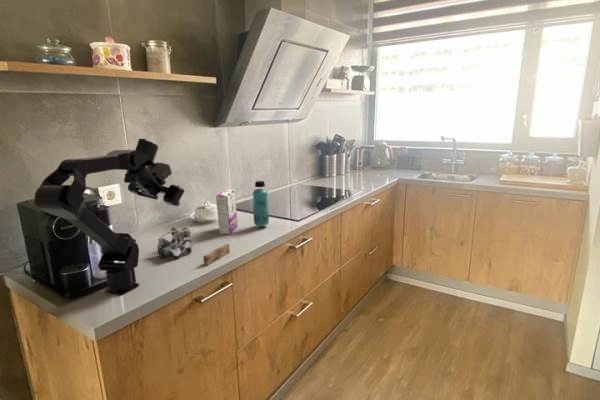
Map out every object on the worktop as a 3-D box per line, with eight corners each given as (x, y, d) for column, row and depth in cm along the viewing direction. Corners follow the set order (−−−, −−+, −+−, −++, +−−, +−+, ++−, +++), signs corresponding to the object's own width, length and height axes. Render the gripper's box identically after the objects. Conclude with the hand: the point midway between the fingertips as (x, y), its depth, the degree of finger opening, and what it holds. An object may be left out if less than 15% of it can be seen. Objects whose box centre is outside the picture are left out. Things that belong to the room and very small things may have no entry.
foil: (144, 247, 124) (173, 216, 132) (163, 266, 131) (189, 235, 139) (162, 253, 117) (192, 220, 125) (182, 273, 124) (208, 240, 132)
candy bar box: (226, 226, 157) (223, 189, 153) (237, 226, 157) (235, 189, 153) (218, 234, 146) (215, 195, 142) (230, 234, 146) (227, 195, 142)
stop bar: (207, 265, 116) (207, 256, 115) (204, 264, 117) (203, 256, 116) (229, 252, 127) (229, 244, 126) (226, 252, 127) (225, 244, 126)
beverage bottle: (251, 226, 156) (249, 180, 152) (266, 223, 159) (264, 179, 155) (257, 230, 151) (254, 183, 146) (271, 227, 154) (269, 181, 149)
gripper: (181, 163, 111) (201, 188, 124) (134, 150, 116) (157, 176, 130) (163, 193, 106) (185, 216, 120) (114, 179, 112) (141, 202, 126)
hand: (167, 201), depth 124 cm, fingers open, 9 cm apart
